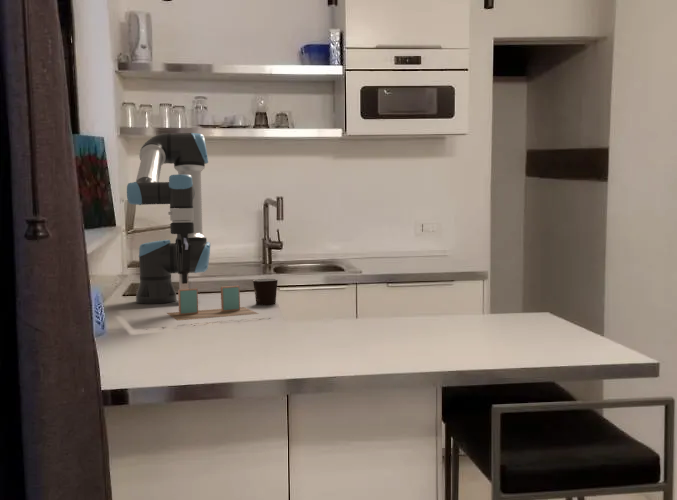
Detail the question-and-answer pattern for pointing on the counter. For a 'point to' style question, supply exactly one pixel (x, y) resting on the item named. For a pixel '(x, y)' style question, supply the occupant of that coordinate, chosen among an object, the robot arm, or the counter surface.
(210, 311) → the board
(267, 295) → the coffee mug
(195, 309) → the tile
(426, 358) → the counter surface
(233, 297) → the tile
